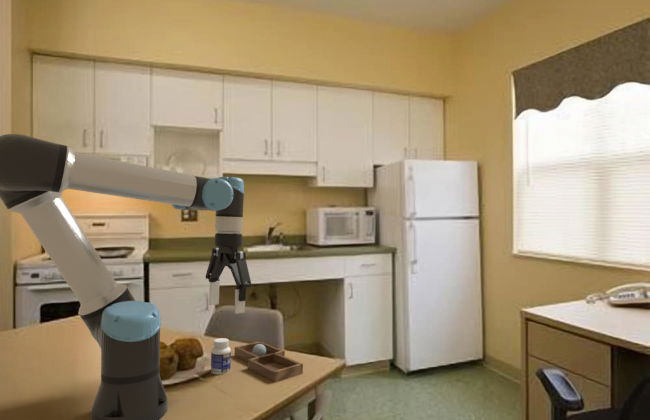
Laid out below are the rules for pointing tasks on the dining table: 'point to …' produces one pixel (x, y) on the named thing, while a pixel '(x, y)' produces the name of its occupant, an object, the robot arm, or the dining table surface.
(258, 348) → the ball
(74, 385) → the dining table surface
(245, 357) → the cradle
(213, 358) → the pill bottle
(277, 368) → the cradle
